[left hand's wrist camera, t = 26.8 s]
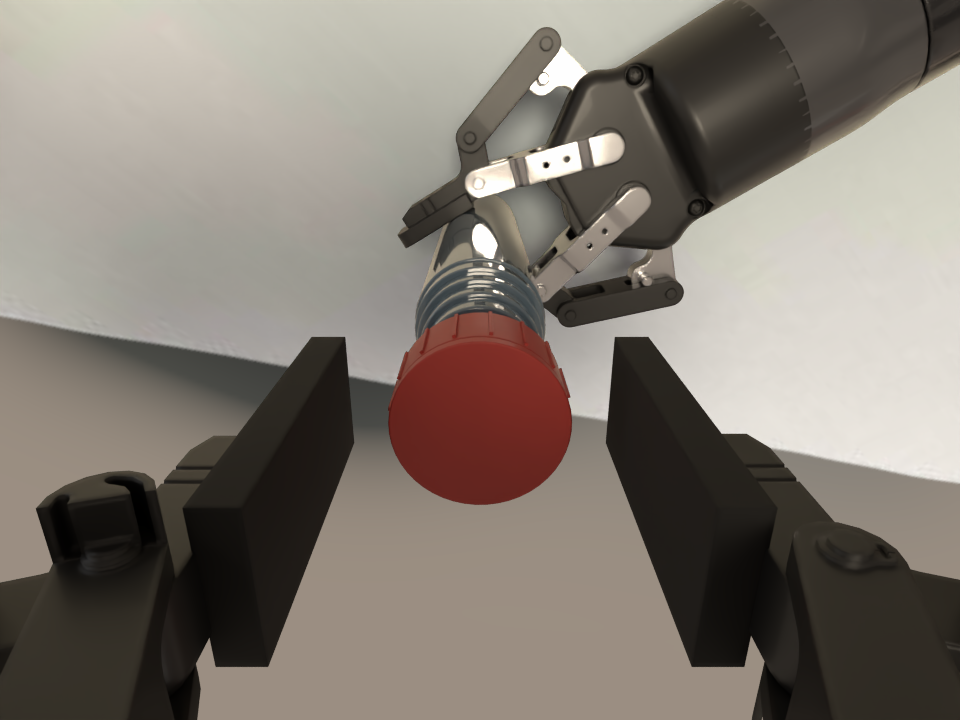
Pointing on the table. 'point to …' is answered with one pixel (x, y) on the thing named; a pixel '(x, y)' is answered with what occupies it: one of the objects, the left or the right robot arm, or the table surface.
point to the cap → (480, 410)
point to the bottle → (480, 270)
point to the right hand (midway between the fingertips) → (431, 280)
